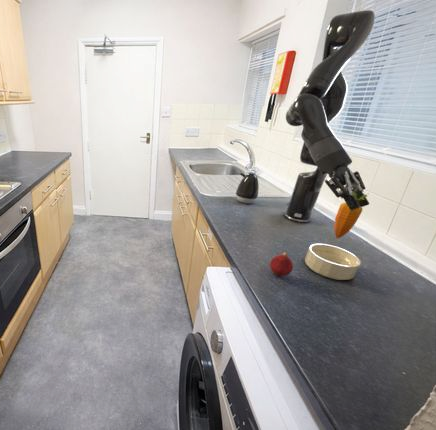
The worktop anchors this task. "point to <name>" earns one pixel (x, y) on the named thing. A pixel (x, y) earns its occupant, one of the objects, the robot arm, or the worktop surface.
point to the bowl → (332, 261)
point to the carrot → (346, 218)
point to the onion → (281, 265)
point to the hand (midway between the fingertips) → (360, 207)
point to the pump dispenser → (248, 188)
